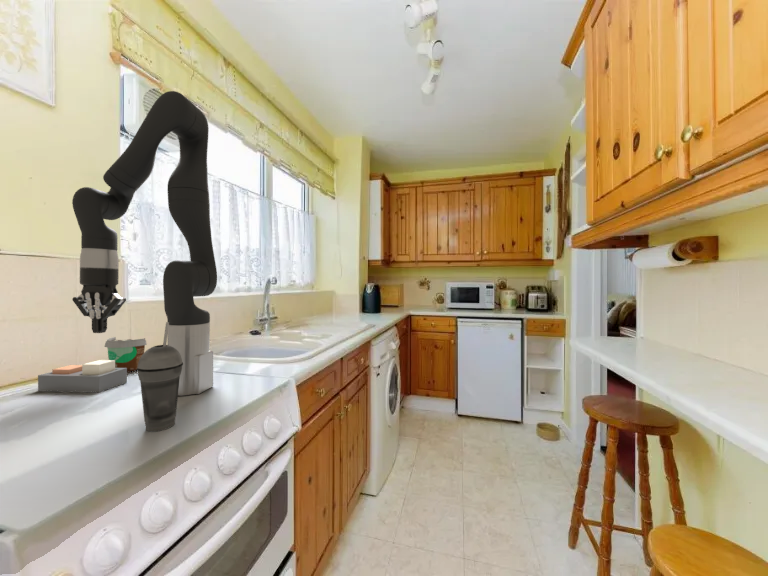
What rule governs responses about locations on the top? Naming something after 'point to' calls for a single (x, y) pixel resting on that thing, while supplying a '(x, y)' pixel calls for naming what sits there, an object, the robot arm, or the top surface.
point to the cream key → (98, 367)
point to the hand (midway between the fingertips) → (99, 332)
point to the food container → (125, 352)
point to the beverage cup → (160, 384)
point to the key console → (81, 381)
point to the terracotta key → (67, 369)
